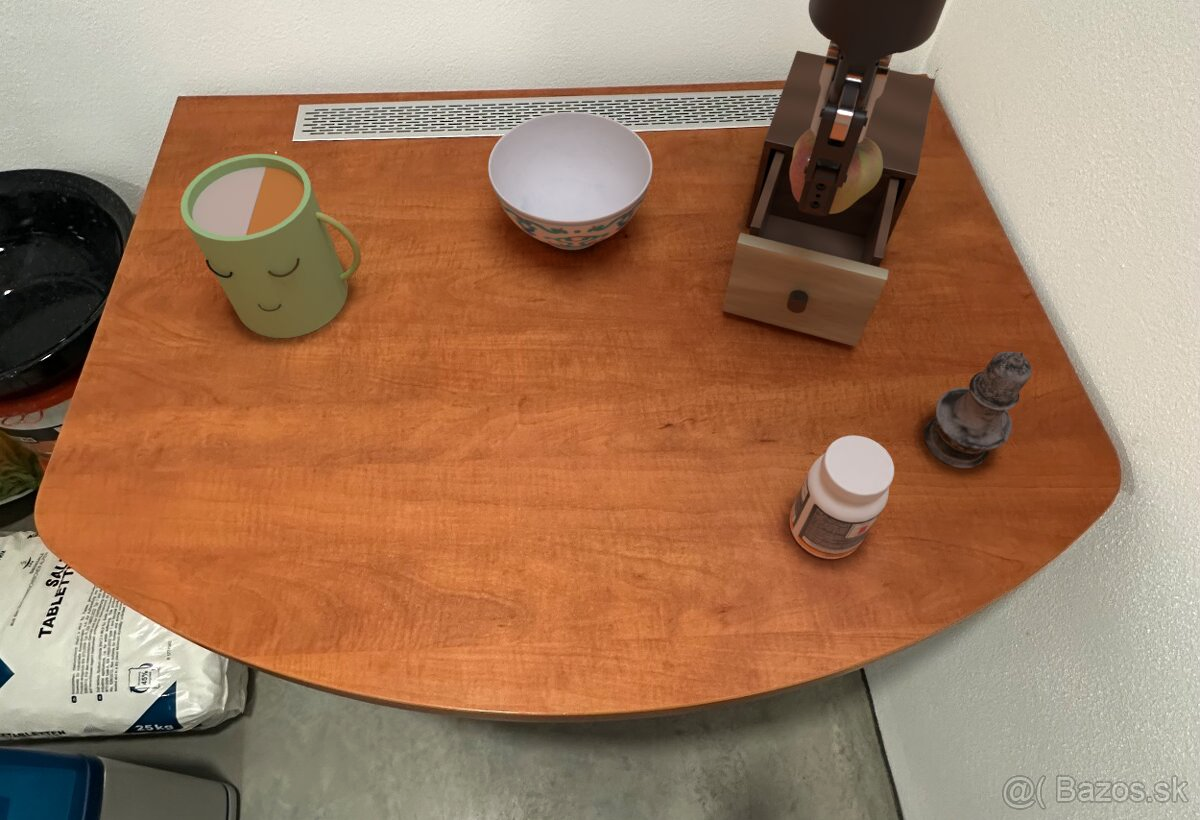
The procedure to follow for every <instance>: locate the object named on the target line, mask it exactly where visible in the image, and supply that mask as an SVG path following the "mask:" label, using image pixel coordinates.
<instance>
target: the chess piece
mask: <svg viewBox="0 0 1200 820" xmlns="http://www.w3.org/2000/svg"><path fill="white" fill-rule="evenodd" d="M1032 373H1033V368H1032V365H1031V363H1030V361H1029V360H1028V359H1027V358H1026V356H1025V354H1024V353H1023V352H1016V351H1011V350H1010V351H1000V352H999V353H997V354H995V355H994V356H993V357H992V358H991V360H989V362H988V363H987V365H986V366H985V368H984V369H983V370H982V371H980V372H977V373H975V374H974V375H973V376H972V377H971V378H970V380H969V383H968V385H969V387H965V386H964V387H955V388H951V389H949V390H948V391H946V392H944V393H943V394H942V395H941V396H940V397H939V399H938V400H937V402H936V405H935V416H934V417H933V418H931V419H930V420H929V421H928V422H927V424H926V425H925V429H924V433H923V434H924V435H923V436H924V442H925V445H926V446H927V448H928V450H929V452H930V453H931V454H932V455H933V456H934V457H935V458H936V459H937V460H939V461H940V462H942V463H944V464H945V465H947V466H949V467H953V468H956V469H972V468H976V467H978V466H979V465H981V464H983V463H984V462H985V461H986V459H987V458H988V457H989V455H990V451H991V450H994V449H997V448H1000V447H1001V446H1002V445H1004V444H1005V443H1006V442H1007V441H1008V440H1009V438H1010V437H1011V434H1012V431H1013V423H1012V419H1011V415H1010V413H1009V411H1008V410H1011V409H1013V408H1014V407H1015V406H1016V405H1017V404H1018V403H1019V400H1020V392H1021V390H1022V389H1023V388H1024V386H1025V385H1026V384H1027V383H1028V381H1029V380H1030V379H1031V376H1032Z"/></svg>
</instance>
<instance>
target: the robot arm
mask: <svg viewBox="0 0 1200 820" xmlns="http://www.w3.org/2000/svg"><path fill="white" fill-rule="evenodd" d="M946 3H947V0H809V1H808V15H809V16H808V17H809V18H810V19H809V20H810V21H811V23H812V25H813V26H814V28H815V29H816V30H817V31H818V33H820V34H821V35H822V36H823V37H824V38H826V40H829V45H828V48H827V52H826V55H825V56H826V58H825V61H824V65H823V68H822V72H821V76H820V79H819V84H820V86H821V91H820V95H819V98H818V102H817V106H816V109H815V113H814V116H813V120H812V124H811V132H812V133H813V134H814V135H815V142H814V146H813V149H812V153H811V156H810V157H809V156H808V159H807V162H806V164H808V166H805V169H804V173H803V174H806V175H805V178H804V180H805V183H804V186H803V190H802V193H801V197H800V200H799V204H798V209H799V210H800V211H801V212H804V213H809V214H813V215H818V216H827V215H828V214H829V213H830V210H831V207H832V204H833V201H834V198H835V195H836V192H837V189H838V187H839V188H842V186H843V183H846V180H847V177H848V175H846V174H847V172H848V169H849V166H850V163H851V160H852V157H853V155H854V152H855V149H856V146H857V143H860V142H862V141H863V139H864V137H865V134H866V131H867V128H868V124H869V121H870V118H871V115H872V112H873V108H874V105H875V102H876V100H877V99H878V98H879V97H880V96H881V95H882V93H883V91H884V87H885V84H886V81H887V78H888V74H889V71H890V70H891V68H890V67H889V66H890V63H891V60H892V57H893V55H895V54H902V53H906V52H909V51H912V50H914V49H916V48H918V47H920V46H922V45H923V44H924V43H926V42H927V41H928V40H929V39H930V38H931V37H932V36H933V34H934V33H935V32H936V30H937V27H938V26H937V25H938V24H939V22H940V19H941V17H942V13H943V10H944V8H945V5H946ZM866 99H867V100H866ZM865 102H866V103H865ZM825 103H826V104H825ZM864 104H865V106H864ZM863 106H864V110H862V109H863ZM824 107H825V108H824Z"/></svg>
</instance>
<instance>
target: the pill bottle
mask: <svg viewBox="0 0 1200 820" xmlns="http://www.w3.org/2000/svg"><path fill="white" fill-rule="evenodd" d="M894 477H895V465H894V460H893V459H892V456H891V455H890V453H889V452H888V451H887V450H886V448H885V447H883V446H882V445H881V444H880V443H879V442H877V441H875V440H873V439H871V438H869V437H866V436H862V435H854V434H853V435H844V436H841V437H839V438H837V439H835V440H834V441H832V443H830V444H829V446H828V447H827V448H826V450H825V452H824V454H822V455H820V456H819V457H818V458H816V460H815V461H813V463H812V465H811V466H810V469H809V470H808V472H807V475H806V477H805V478H804V481H803V483H802V485H801V488H800V490H799V492H798V494H797V496H796V498H795V501H794V502H793V504H792V507H791V509H790V514H789V526H790V531H791V533H792V536H793V537H794V539H795V541H796V542H797V543H798V544H799V546H800V547H801V548H803V549H804V550H805V551H806V552H808V553H810V554H811V555H813V556H815V557H818V558H822V559H825V560H837V559H842V558H845V557H847V556H849V555H851V554H852V553H854V552H855V551H856V550H857V548H859V546H860V545H861V544H862V542H863V541H864V540H865V538H866V536H867V535H868V533H869V531H870V530H871V528H872V527H873V526H874V524H875V522H877V520H878V518H879V516H880V515H881V513H882V512H883V511H884V510H885V507H886V505H887V502H888V499H889V495H890V493H889V492H890V486H891V485H892V483H893V480H894Z"/></svg>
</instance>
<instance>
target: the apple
mask: <svg viewBox="0 0 1200 820" xmlns="http://www.w3.org/2000/svg"><path fill="white" fill-rule="evenodd" d="M814 142H815V135H814V134H813V133H812V132H811V128H810V129H808V130H807V131H806V132H805V133H804V134H803V135H802V136H801V137H800V138H799V140H798V141H797V143H796V145H795V147H794V151H793V159H792V162H791V166H790V182H791V187H792V193H793V195H794V197H795V199H796V200H797V201H798V202H799V200H800V197H801V193H802V190H803V186H804V183H805V180H804V178H805V175H806V174H803V173H804V169H805V166H808V164H806V162H807V159H808V156H809V157H810V156H811V153H812V149H813V146H814ZM882 170H883V158H882V154H881V151H880V149H879V147H878V146H877V144H876V143H875V142H873V141H872V140H871V139H869V138H867V137H864V139H863V141H862V142H860V143H857V146H856V149H855V152H854V155H853V157H852V160H851V163H850V166H849V169H848V172H847V174H846V175H848V177H847V180H846V183H843V186H842V188H839V187H838V189H837V192H836V195H835V198H834V201H833V204H832V207H831V210H830V213H829V214H833V213H839V212H841V211H844V210H845V209H847V208H848V207H850V206H851V205H852V204H853V203H854V202H856V201H857V200H858V199H859V198H860V197H862V196H863V195H865V194H866V193H868V192H869V191H870V190H871V189H872V188H873V187H874V186H875V185H876V184H877V182H878V181H879V179H880V177H881V174H882Z"/></svg>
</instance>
